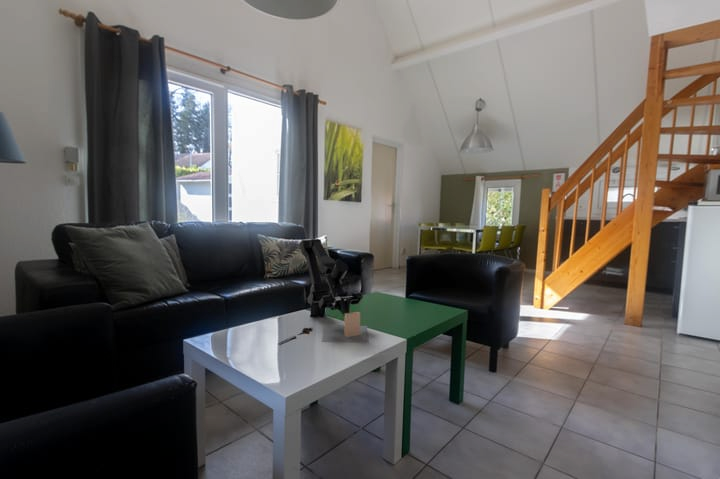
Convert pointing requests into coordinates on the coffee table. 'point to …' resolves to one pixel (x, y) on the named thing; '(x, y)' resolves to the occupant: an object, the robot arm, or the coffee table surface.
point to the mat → (337, 334)
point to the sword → (305, 330)
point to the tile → (352, 324)
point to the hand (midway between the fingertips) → (347, 317)
